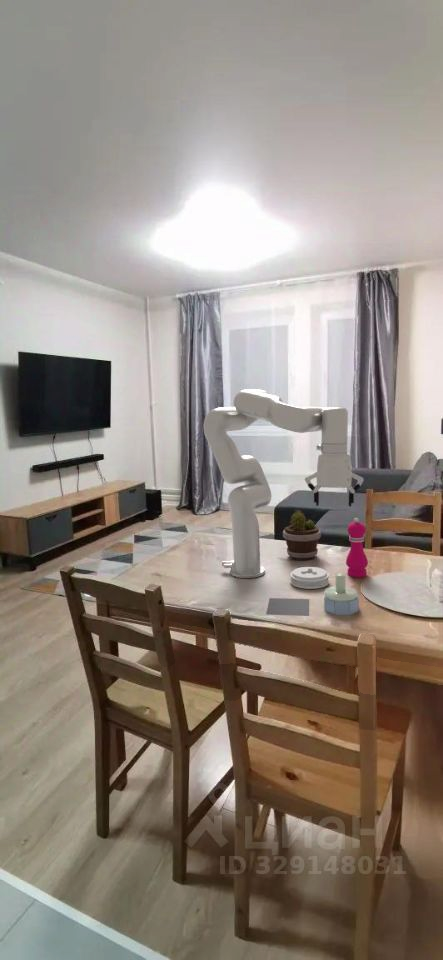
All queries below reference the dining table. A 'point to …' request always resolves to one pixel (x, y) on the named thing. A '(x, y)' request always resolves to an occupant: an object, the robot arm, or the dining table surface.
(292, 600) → the mat
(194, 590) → the dining table surface
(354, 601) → the bowl
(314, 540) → the flowerpot
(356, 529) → the pepper mill
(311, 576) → the lid
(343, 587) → the cover
